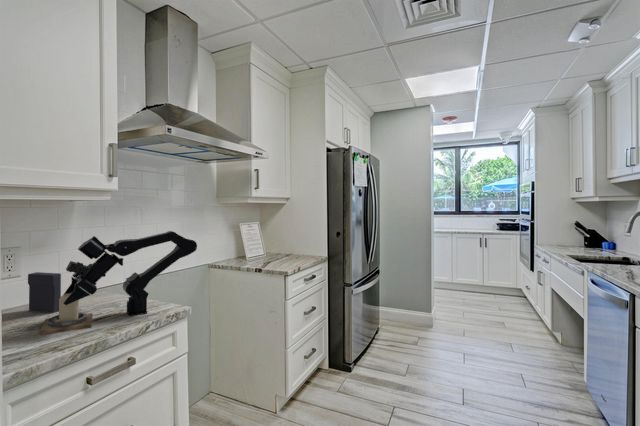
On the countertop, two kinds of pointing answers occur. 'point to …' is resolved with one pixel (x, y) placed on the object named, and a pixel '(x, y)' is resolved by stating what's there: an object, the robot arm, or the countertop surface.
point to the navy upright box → (44, 292)
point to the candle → (67, 309)
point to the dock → (66, 323)
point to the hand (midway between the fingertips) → (63, 301)
